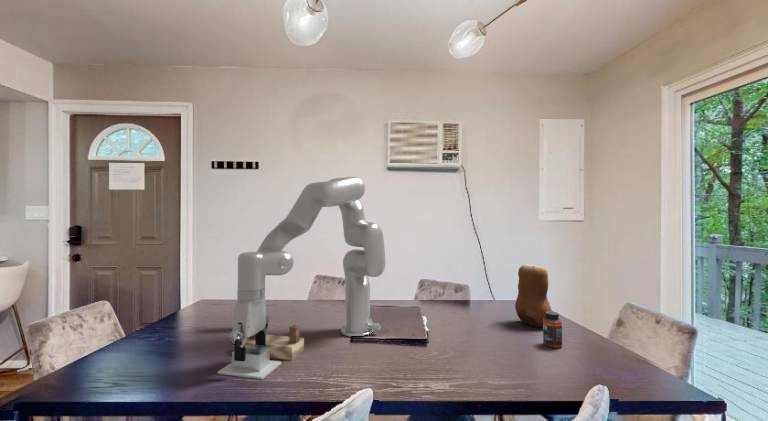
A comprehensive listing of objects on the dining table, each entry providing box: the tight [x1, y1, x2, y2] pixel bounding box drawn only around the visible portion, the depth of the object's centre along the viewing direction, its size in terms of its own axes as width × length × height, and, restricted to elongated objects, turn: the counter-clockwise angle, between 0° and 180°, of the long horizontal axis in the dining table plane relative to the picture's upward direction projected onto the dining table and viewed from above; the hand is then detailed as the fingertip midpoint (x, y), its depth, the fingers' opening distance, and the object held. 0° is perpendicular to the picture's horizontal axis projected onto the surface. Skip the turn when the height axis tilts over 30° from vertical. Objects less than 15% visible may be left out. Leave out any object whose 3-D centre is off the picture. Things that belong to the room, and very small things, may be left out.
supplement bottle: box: [542, 311, 563, 349], centre depth 116 cm, size 6×6×11 cm
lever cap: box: [231, 344, 271, 372], centre depth 97 cm, size 9×5×6 cm, turn 77°
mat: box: [217, 360, 282, 380], centre depth 97 cm, size 14×10×1 cm
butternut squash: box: [514, 263, 553, 328], centre depth 138 cm, size 14×13×25 cm
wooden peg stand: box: [244, 324, 305, 361], centre depth 109 cm, size 18×8×9 cm, turn 77°
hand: (250, 353), depth 97 cm, fingers open, 9 cm apart
